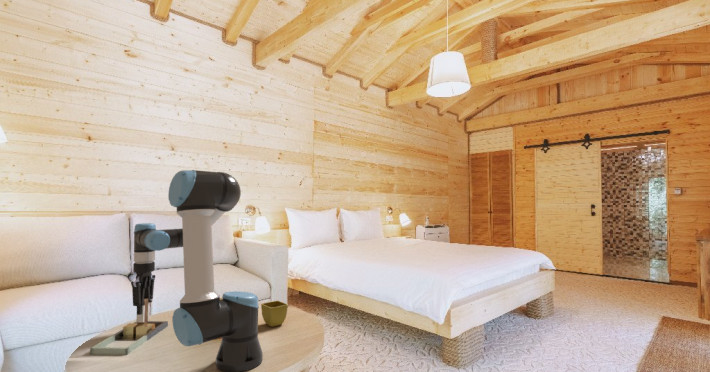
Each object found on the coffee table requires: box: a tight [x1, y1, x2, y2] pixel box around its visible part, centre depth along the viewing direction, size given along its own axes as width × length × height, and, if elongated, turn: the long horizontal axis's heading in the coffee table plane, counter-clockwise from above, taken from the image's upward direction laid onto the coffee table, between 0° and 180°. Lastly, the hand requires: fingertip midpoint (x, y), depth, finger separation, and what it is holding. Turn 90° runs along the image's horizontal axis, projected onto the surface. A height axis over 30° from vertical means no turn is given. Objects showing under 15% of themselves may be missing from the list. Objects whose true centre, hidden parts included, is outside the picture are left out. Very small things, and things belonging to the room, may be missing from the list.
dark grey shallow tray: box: [113, 320, 169, 342], centre depth 148 cm, size 16×13×3 cm
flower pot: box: [260, 300, 289, 328], centre depth 163 cm, size 9×9×9 cm
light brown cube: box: [136, 324, 152, 338], centre depth 145 cm, size 4×4×4 cm
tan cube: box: [122, 322, 139, 338], centre depth 145 cm, size 4×4×4 cm
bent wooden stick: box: [134, 299, 155, 330], centre depth 149 cm, size 3×9×13 cm, turn 90°
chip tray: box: [89, 334, 148, 355], centre depth 134 cm, size 12×13×3 cm
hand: (142, 320), depth 149 cm, fingers closed on bent wooden stick, 3 cm apart
